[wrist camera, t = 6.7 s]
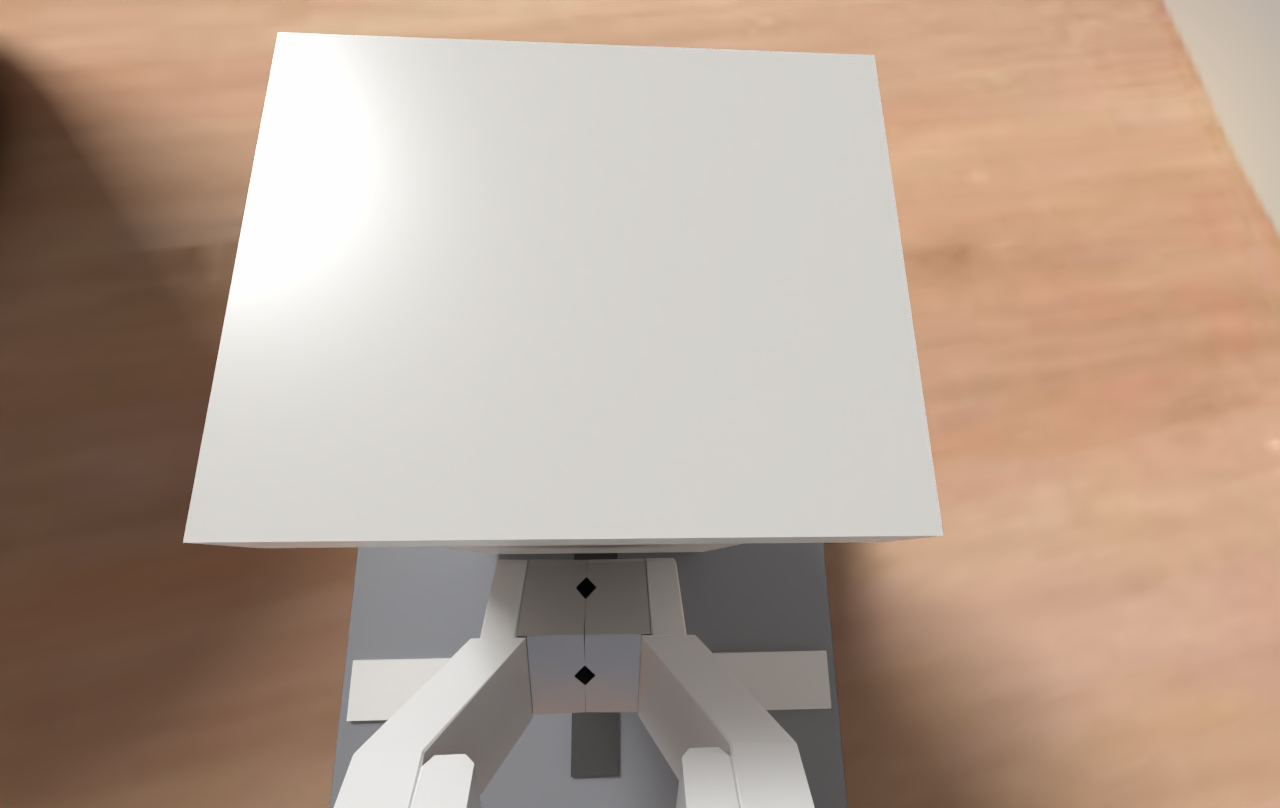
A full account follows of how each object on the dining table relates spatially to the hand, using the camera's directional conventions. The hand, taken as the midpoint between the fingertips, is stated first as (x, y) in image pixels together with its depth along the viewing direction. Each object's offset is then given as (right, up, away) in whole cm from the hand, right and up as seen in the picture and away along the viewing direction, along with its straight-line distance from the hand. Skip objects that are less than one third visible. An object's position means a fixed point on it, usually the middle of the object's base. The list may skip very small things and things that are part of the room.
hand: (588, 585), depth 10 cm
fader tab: (0, +2, +4) cm, 4 cm away
